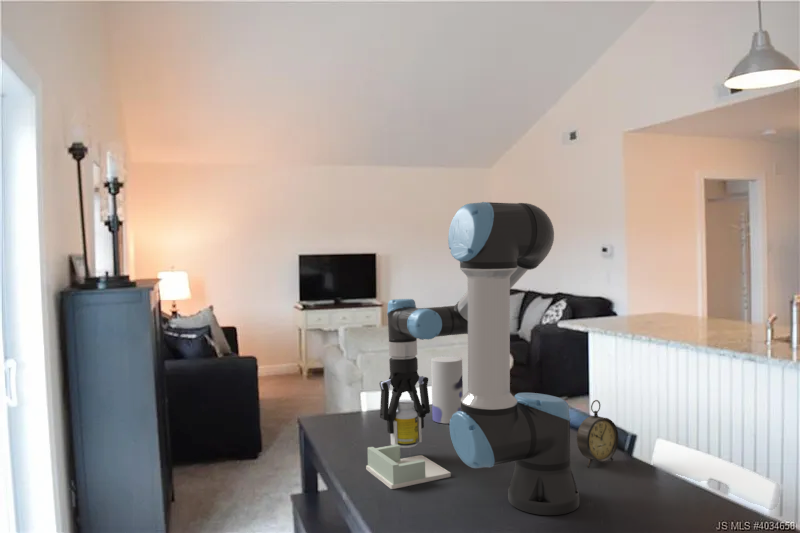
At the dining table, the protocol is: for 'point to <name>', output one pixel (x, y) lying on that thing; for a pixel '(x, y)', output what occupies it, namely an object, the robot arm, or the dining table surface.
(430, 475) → the dock
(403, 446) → the pill bottle
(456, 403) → the container
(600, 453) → the alarm clock
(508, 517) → the dining table surface
